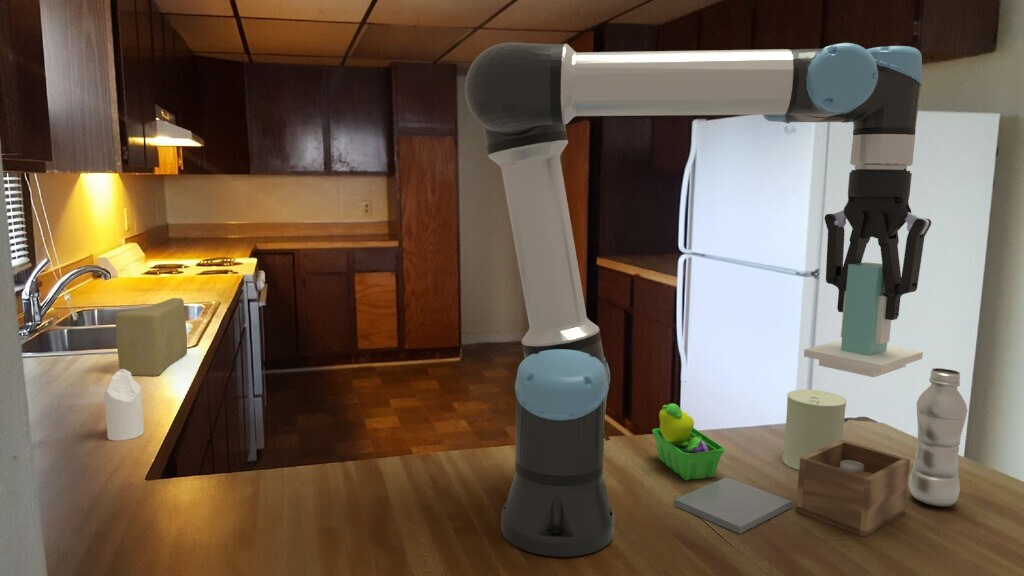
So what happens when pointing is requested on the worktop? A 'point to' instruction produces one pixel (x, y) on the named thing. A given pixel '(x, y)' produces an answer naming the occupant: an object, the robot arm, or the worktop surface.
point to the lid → (862, 329)
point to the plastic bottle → (938, 440)
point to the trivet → (733, 504)
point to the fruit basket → (685, 445)
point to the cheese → (151, 337)
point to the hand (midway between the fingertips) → (864, 338)
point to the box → (852, 487)
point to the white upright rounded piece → (123, 407)
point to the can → (811, 423)
